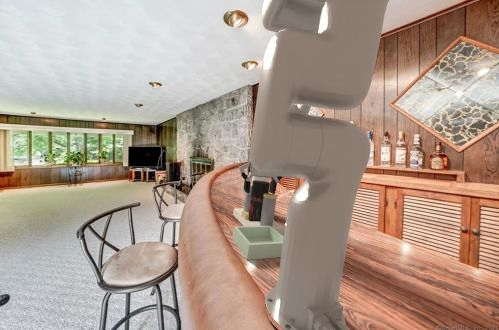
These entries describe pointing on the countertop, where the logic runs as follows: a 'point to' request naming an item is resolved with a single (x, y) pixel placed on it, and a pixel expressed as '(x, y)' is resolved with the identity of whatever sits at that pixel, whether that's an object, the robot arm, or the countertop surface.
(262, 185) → the deodorant
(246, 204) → the fuse block
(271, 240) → the tray
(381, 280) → the countertop surface
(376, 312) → the countertop surface
